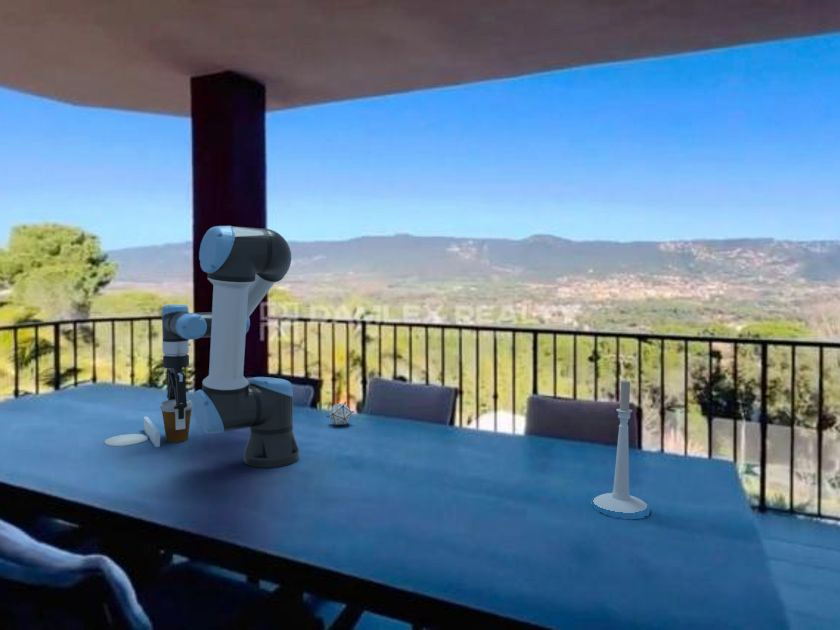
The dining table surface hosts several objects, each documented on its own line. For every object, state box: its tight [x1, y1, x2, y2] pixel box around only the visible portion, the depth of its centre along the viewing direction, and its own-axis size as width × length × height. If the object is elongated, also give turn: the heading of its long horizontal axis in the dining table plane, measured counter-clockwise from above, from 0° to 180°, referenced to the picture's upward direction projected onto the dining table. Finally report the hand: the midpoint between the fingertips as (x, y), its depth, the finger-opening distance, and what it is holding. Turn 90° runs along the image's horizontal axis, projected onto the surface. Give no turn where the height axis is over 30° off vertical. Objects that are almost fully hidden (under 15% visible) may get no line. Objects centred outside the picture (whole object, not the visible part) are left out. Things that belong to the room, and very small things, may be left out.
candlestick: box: [592, 379, 648, 513], centre depth 134 cm, size 13×13×30 cm
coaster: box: [104, 433, 149, 447], centre depth 183 cm, size 12×12×1 cm
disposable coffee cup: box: [159, 398, 193, 443], centre depth 184 cm, size 10×10×12 cm
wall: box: [143, 416, 161, 448], centre depth 186 cm, size 22×1×4 cm, turn 34°
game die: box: [326, 401, 355, 428], centre depth 205 cm, size 9×8×10 cm
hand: (177, 425), depth 185 cm, fingers closed on disposable coffee cup, 9 cm apart
